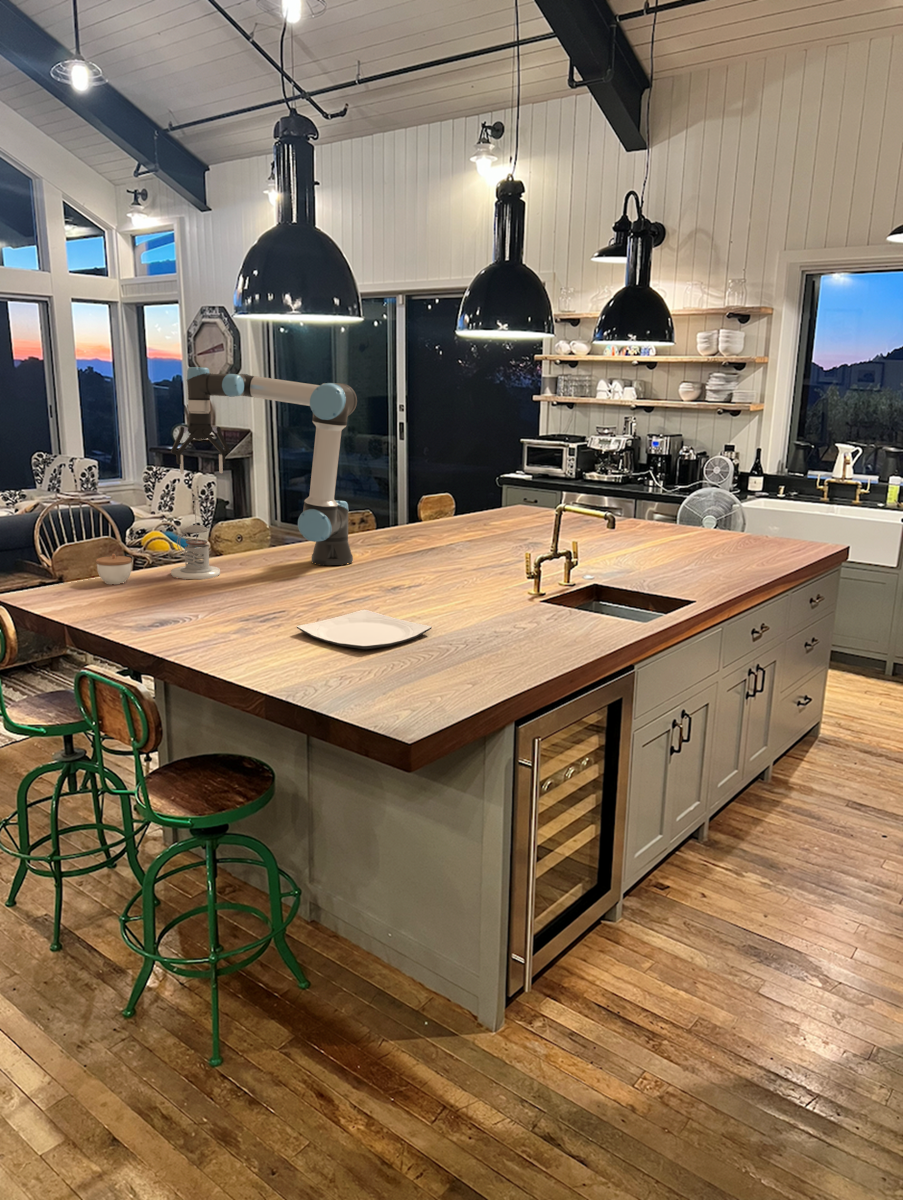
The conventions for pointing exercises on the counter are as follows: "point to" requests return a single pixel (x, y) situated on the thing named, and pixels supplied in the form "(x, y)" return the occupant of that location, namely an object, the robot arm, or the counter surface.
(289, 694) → the counter surface
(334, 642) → the plate
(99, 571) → the lidded jar
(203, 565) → the french press
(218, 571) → the disc
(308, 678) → the counter surface
